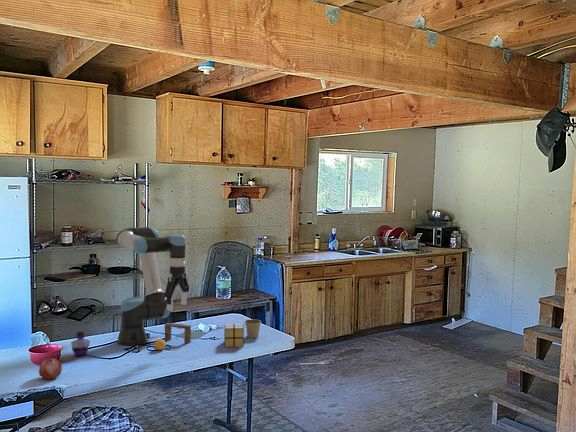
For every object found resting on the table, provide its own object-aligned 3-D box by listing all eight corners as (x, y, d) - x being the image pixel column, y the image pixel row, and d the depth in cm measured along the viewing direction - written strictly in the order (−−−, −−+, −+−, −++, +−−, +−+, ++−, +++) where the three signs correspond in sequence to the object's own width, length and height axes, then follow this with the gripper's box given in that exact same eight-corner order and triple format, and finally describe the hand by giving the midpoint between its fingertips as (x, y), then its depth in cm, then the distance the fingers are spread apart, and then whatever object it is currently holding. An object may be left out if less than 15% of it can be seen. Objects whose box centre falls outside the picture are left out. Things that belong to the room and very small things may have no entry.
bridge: (187, 343, 271) (187, 326, 270) (164, 340, 276) (164, 323, 275) (190, 342, 273) (190, 325, 273) (168, 339, 279) (168, 322, 278)
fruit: (49, 373, 226) (48, 350, 225) (66, 375, 223) (66, 353, 222) (33, 380, 217) (32, 357, 216) (51, 383, 214) (51, 359, 214)
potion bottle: (67, 356, 247) (66, 332, 246) (80, 351, 255) (80, 328, 254) (80, 359, 244) (80, 334, 243) (93, 354, 252) (93, 330, 251)
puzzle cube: (224, 341, 275) (224, 323, 275) (243, 341, 277) (243, 323, 276) (224, 347, 266) (224, 328, 265) (243, 347, 267) (243, 328, 266)
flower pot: (260, 339, 281) (260, 323, 280) (243, 338, 281) (243, 323, 281) (261, 334, 290) (261, 319, 290) (245, 334, 290) (245, 319, 290)
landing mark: (175, 336, 284) (175, 335, 284) (188, 330, 296) (188, 330, 296) (195, 339, 279) (195, 338, 279) (207, 333, 291) (207, 332, 291)
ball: (152, 350, 258) (152, 340, 258) (158, 347, 263) (158, 337, 263) (161, 352, 256) (161, 341, 256) (167, 349, 261) (167, 338, 261)
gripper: (170, 270, 242) (170, 314, 243) (196, 262, 266) (195, 302, 267) (157, 269, 244) (156, 312, 246) (183, 261, 268) (182, 301, 269)
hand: (177, 307), depth 256 cm, fingers open, 13 cm apart
